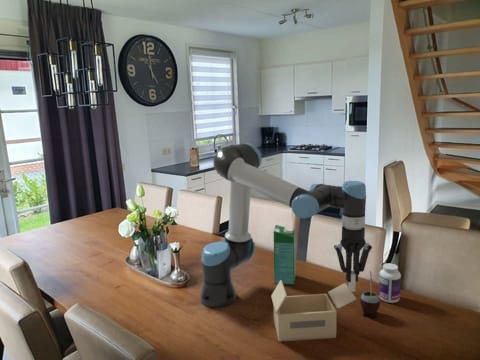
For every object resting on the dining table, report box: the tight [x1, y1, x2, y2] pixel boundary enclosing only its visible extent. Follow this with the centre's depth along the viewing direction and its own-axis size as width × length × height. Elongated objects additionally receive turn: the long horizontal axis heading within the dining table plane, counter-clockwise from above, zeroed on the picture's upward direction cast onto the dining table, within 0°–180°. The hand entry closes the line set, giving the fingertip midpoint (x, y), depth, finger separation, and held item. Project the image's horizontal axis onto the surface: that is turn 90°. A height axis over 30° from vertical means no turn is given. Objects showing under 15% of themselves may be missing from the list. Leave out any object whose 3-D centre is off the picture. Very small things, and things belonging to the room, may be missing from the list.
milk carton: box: [273, 224, 297, 285], centre depth 164 cm, size 9×9×25 cm
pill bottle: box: [378, 262, 402, 304], centre depth 146 cm, size 8×8×14 cm
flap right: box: [327, 282, 357, 310], centre depth 128 cm, size 1×11×7 cm
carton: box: [273, 293, 338, 342], centre depth 129 cm, size 20×12×10 cm, turn 93°
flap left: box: [270, 280, 288, 313], centre depth 127 cm, size 1×11×7 cm, turn 5°
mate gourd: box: [359, 270, 381, 319], centre depth 136 cm, size 8×8×15 cm
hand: (351, 289), depth 128 cm, fingers closed
